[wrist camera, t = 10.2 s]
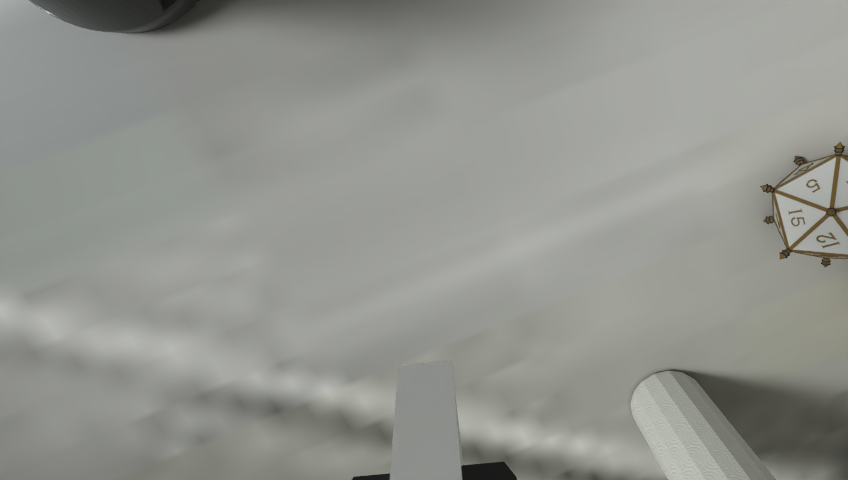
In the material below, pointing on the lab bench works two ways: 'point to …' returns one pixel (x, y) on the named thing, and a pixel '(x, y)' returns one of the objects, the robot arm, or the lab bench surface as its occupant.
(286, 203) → the lab bench surface
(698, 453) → the paper towel roll
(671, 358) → the lab bench surface
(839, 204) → the game die
